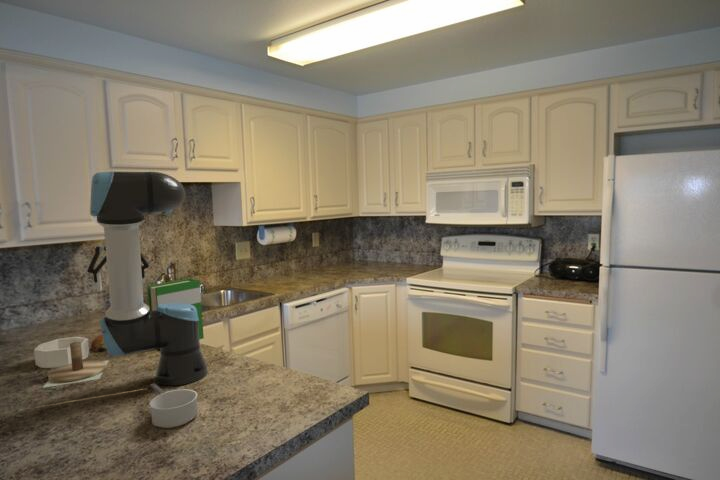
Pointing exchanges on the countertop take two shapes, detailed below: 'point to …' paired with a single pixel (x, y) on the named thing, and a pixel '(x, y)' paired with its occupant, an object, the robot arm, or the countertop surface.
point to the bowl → (58, 352)
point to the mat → (75, 381)
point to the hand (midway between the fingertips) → (120, 289)
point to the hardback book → (177, 296)
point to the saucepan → (173, 407)
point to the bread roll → (98, 344)
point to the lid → (76, 367)
